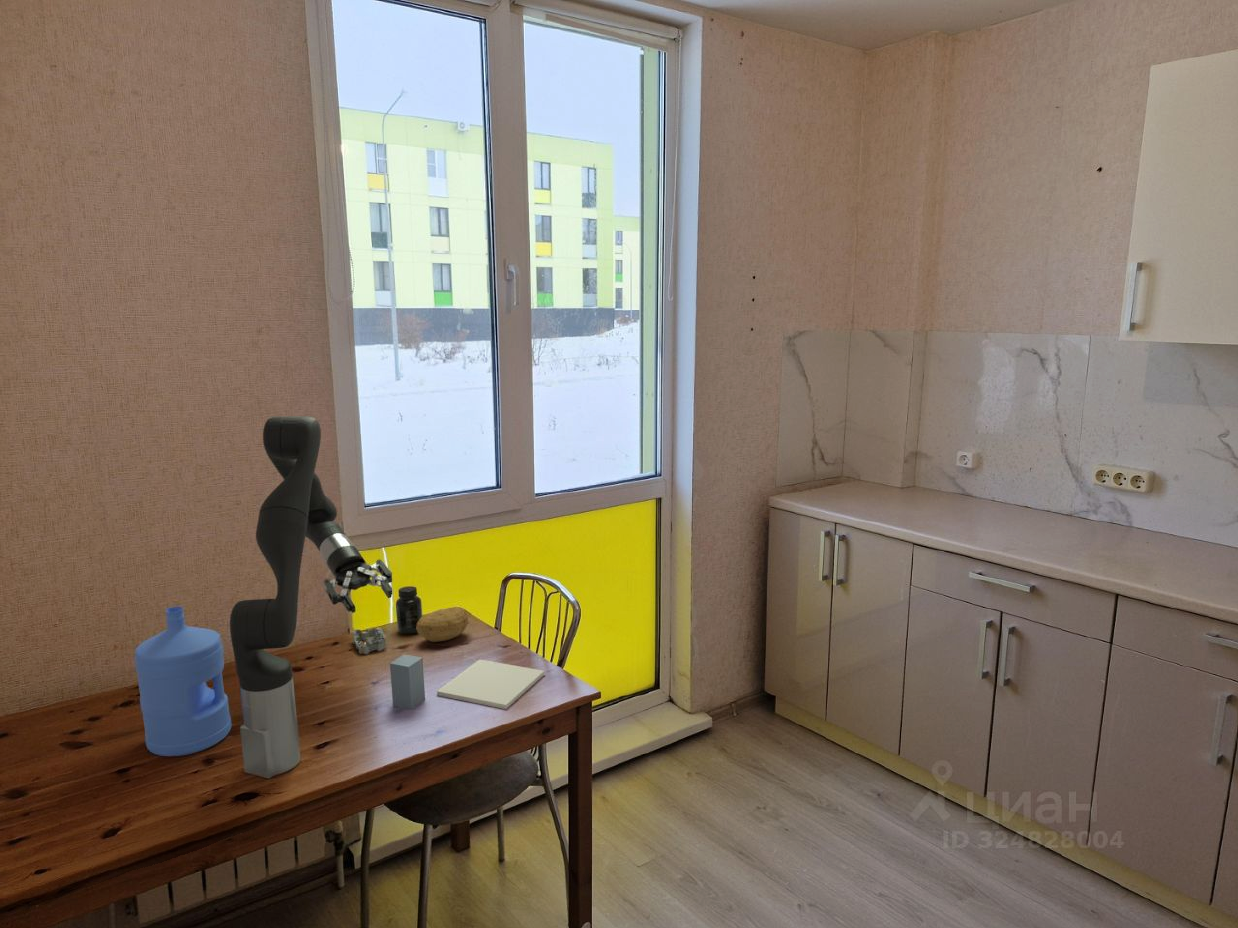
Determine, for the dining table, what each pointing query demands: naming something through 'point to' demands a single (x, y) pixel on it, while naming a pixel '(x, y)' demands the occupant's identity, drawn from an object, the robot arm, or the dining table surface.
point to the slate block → (407, 681)
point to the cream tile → (491, 683)
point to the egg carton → (369, 640)
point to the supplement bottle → (408, 610)
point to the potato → (442, 624)
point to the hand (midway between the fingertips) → (372, 602)
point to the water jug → (182, 688)
